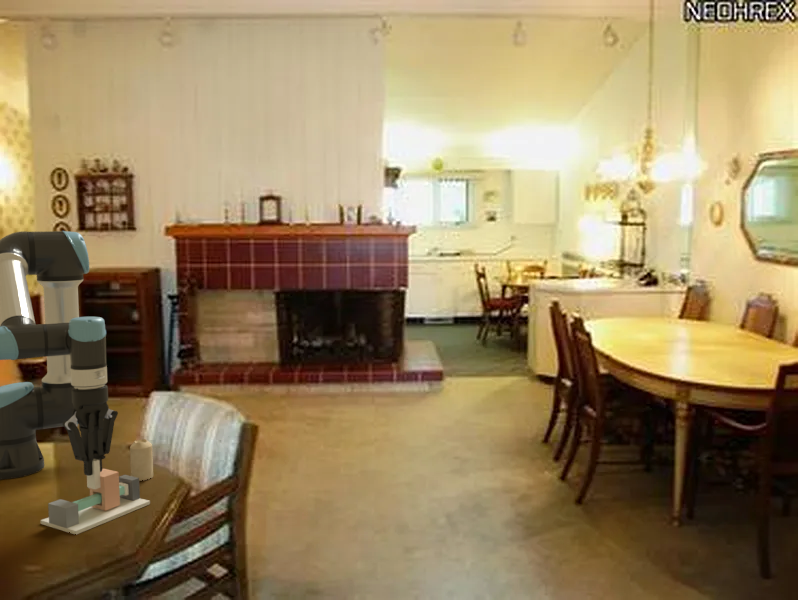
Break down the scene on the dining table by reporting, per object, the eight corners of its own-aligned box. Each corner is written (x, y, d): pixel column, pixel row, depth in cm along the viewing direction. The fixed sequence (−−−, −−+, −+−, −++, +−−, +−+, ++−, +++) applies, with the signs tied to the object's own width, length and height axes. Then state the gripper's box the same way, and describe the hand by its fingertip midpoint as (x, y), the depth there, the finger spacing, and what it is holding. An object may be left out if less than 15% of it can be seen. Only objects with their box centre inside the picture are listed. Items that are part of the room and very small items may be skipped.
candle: (148, 481, 187) (147, 443, 186) (127, 481, 187) (126, 443, 187) (156, 474, 193) (155, 437, 192) (135, 474, 193) (134, 437, 192)
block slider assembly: (40, 523, 160) (39, 498, 159) (115, 495, 177) (115, 472, 177) (75, 534, 154) (74, 508, 153) (150, 504, 171) (149, 480, 171)
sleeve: (90, 506, 167) (88, 473, 166) (105, 501, 170) (103, 468, 170) (105, 510, 164) (104, 477, 164) (120, 505, 168) (118, 471, 167)
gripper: (74, 393, 155) (79, 499, 157) (124, 382, 166) (128, 481, 168) (52, 389, 159) (57, 493, 161) (103, 379, 170) (107, 476, 172)
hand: (93, 487), depth 165 cm, fingers closed
